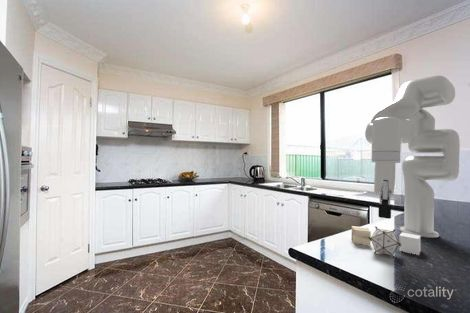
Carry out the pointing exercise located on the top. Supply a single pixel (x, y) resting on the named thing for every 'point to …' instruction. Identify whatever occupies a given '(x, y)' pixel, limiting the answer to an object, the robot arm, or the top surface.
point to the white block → (410, 243)
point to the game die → (384, 241)
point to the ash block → (361, 235)
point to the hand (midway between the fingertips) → (384, 217)
